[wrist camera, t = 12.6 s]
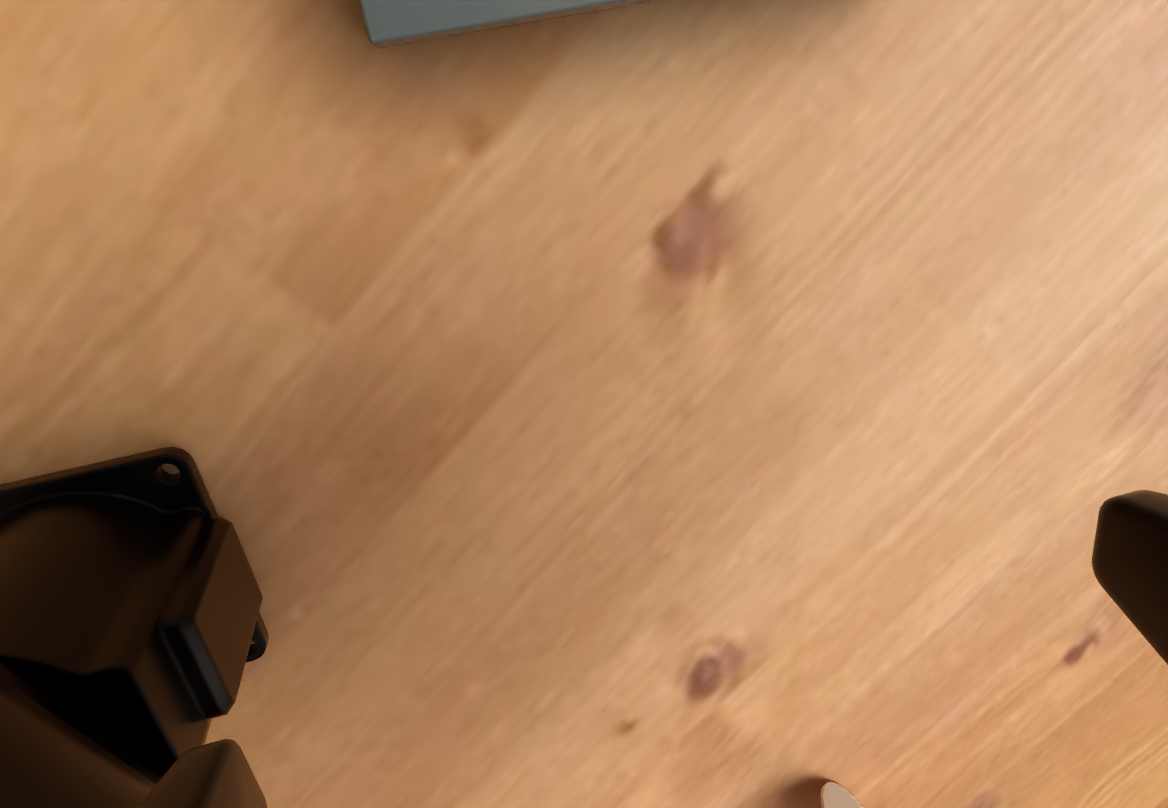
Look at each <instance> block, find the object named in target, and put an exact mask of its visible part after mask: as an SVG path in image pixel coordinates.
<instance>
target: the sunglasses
mask: <svg viewBox="0 0 1168 808" xmlns="http://www.w3.org/2000/svg"><path fill="white" fill-rule="evenodd" d="M821 807H822V808H863V806H862V805H861V804H860V803H859V802H858V800H857V799H856V798H855V797H854V796H853V795H852V794H851V793H850V792H849V791H848V790H846V789H845V788H844V787H843V786H841V785H839V784H837V783H834V782H828V783H826V784H824V786H823V787H822V789H821Z"/></svg>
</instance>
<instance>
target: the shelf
mask: <svg viewBox="0 0 1168 808" xmlns="http://www.w3.org/2000/svg"><path fill="white" fill-rule="evenodd" d="M651 1H657V0H359V2H360V6H361V10H362V14H363V18H364V22H365V26H366V30H367V34H368V38H369V41H370V42H371V43H372V44H374V45H376V46H378V47H379V48H385V47H391V46H396V45H402V44H408V43H414V42H420V41H425V40H431V39H437V38H443V37H449V36H454V35H460V34H466V33H472V32H477V31H483V30H489V29H495V28H501V27H506V26H512V25H518V24H524V23H529V22H535V21H541V20H547V19H553V18H558V17H564V16H570V15H576V14H582V13H587V12H593V11H599V10H605V9H610V8H616V7H622V6H628V5H634V4H639V3H645V2H651Z"/></svg>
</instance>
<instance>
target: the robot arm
mask: <svg viewBox="0 0 1168 808" xmlns="http://www.w3.org/2000/svg"><path fill="white" fill-rule="evenodd" d="M163 464H172V465H175V466H177V468H178V469H179V470H180V473H179V474H169V473H167V472H165V471H164V470H163V468H162V465H163ZM1092 567H1093V571H1094V574H1095V576H1096V578H1097V580H1098V582H1099V583H1100V585H1101V586H1102V587H1103V589H1104V590H1105V591H1106V592H1107V593H1108V595H1109V596H1110V597H1111V598H1112V599H1113V600H1114V602H1115V603H1116V604H1117V605H1118V606H1119V608H1120V609H1121V610H1122V611H1123V612H1124V613H1125V615H1126V616H1127V617H1128V618H1129V619H1130V621H1131V622H1132V623H1133V624H1134V625H1135V627H1136V628H1137V629H1138V630H1139V631H1140V632H1141V634H1142V635H1143V636H1144V637H1145V638H1146V640H1147V641H1148V642H1149V643H1150V644H1151V645H1152V647H1153V648H1154V649H1155V650H1156V651H1157V653H1158V654H1159V655H1160V656H1161V657H1162V658H1163V660H1164V661H1165V662H1166V663H1167V664H1168V495H1166V494H1162V493H1158V492H1154V491H1148V490H1139V491H1134V492H1130V493H1127V494H1123V495H1119V496H1116V497H1112V498H1109V499H1108V500H1106V501H1105V502H1104V503H1103V505H1102V506H1101V508H1100V511H1099V515H1098V522H1097V529H1096V535H1095V542H1094V548H1093V555H1092ZM261 602H262V594H261V591H260V589H259V587H258V584H257V582H256V579H255V577H254V575H253V572H252V570H251V568H250V565H249V563H248V560H247V558H246V556H245V553H244V551H243V549H242V546H241V544H240V542H239V539H238V537H237V534H236V532H235V530H234V527H233V525H232V523H231V522H229V521H228V520H226V519H224V518H223V517H218V515H217V513H216V511H215V508H214V506H213V504H212V501H211V499H210V497H209V494H208V492H207V490H206V487H205V485H204V483H203V480H202V478H201V476H200V473H199V471H198V469H197V466H196V464H195V462H194V460H193V458H192V457H191V455H190V454H189V453H187V452H186V451H184V450H183V449H179V448H175V447H167V448H161V449H157V450H152V451H148V452H144V453H139V454H135V455H130V456H126V457H122V458H117V459H113V460H108V461H104V462H100V463H95V464H91V465H86V466H82V467H78V468H73V469H69V470H64V471H60V472H56V473H51V474H47V475H42V476H38V477H34V478H29V479H25V480H20V481H16V482H12V483H7V484H3V485H0V808H267V804H266V801H265V797H264V795H263V793H262V791H261V789H260V787H259V785H258V782H257V780H256V778H255V776H254V774H253V772H252V770H251V768H250V766H249V764H248V762H247V760H246V758H245V756H244V754H243V752H242V750H241V748H240V746H239V745H238V744H237V743H236V742H235V741H233V740H230V739H224V740H220V741H216V742H213V743H209V744H205V745H204V743H205V740H206V736H207V733H208V729H209V726H210V723H211V719H212V718H215V717H219V716H223V715H227V714H228V712H229V711H230V709H231V707H232V706H233V704H234V703H235V700H236V697H237V693H238V689H239V685H240V681H241V678H242V674H243V670H244V666H245V663H246V662H250V661H253V660H256V659H258V658H260V657H261V656H262V655H263V654H264V652H265V650H266V647H267V642H268V632H267V630H266V627H265V625H264V623H263V620H262V618H261V616H260V613H259V610H260V606H261ZM251 640H252V641H254V642H255V643H254V644H251Z"/></svg>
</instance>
